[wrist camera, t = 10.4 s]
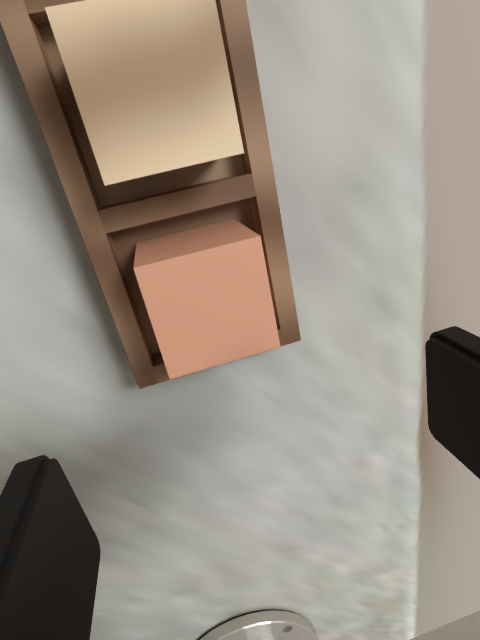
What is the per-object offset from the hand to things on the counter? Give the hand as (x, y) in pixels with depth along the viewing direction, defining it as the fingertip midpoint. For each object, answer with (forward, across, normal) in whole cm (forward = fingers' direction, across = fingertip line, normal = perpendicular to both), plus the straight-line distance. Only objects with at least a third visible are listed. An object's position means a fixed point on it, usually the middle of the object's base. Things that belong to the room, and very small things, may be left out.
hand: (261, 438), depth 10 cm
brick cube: (+12, 0, -1) cm, 12 cm away
